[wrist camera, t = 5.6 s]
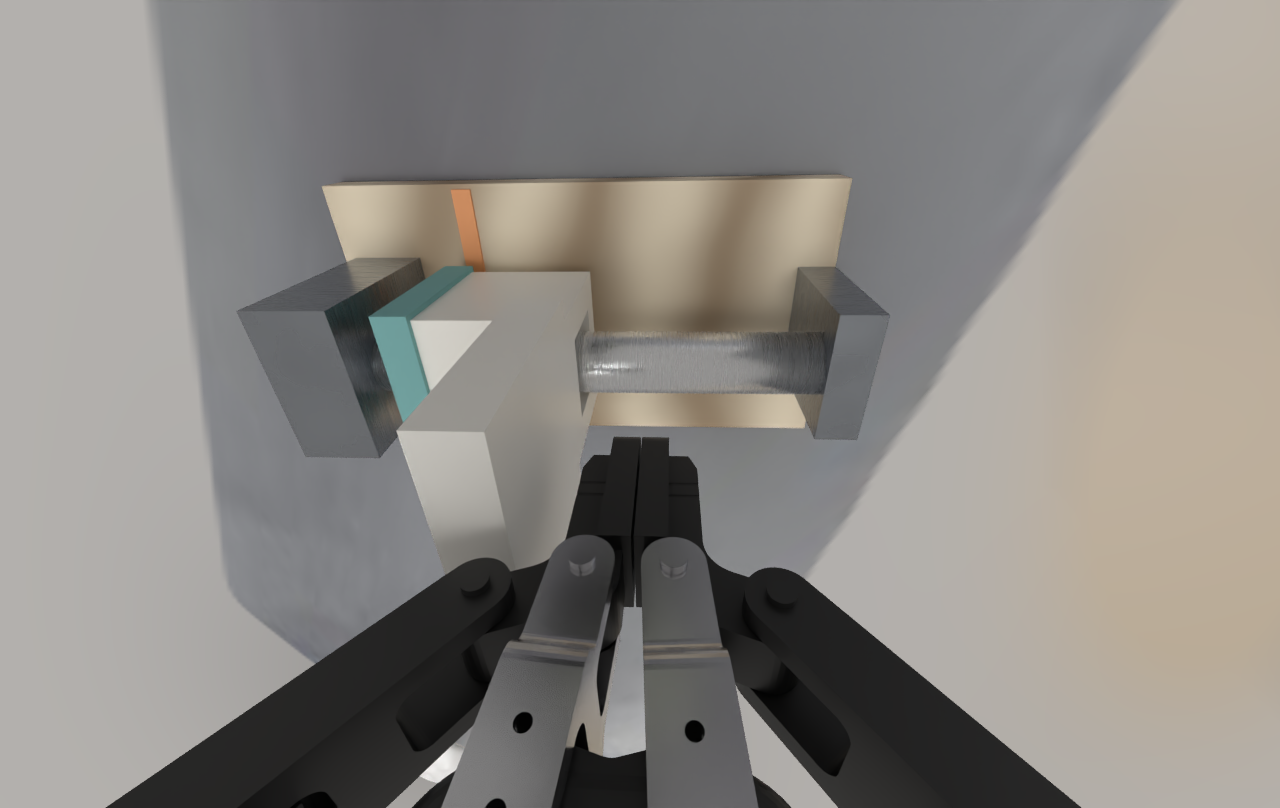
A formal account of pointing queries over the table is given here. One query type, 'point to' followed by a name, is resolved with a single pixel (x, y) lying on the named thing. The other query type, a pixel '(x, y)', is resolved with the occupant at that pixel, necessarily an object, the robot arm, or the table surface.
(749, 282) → the pipe stand
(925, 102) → the table surface
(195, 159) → the table surface
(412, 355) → the thin teal tile
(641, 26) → the table surface
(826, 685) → the robot arm
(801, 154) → the table surface
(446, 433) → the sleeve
